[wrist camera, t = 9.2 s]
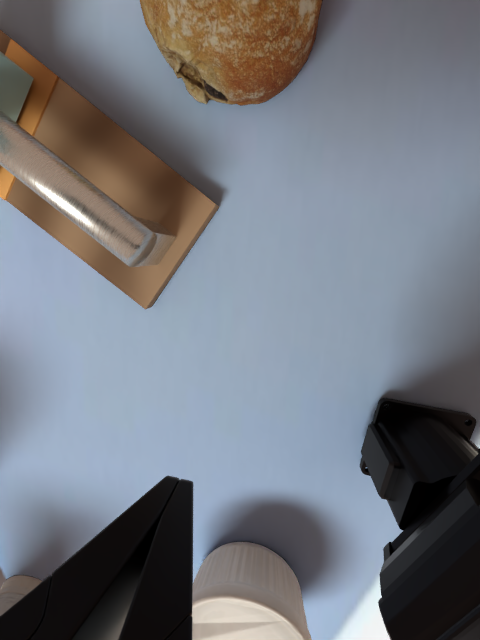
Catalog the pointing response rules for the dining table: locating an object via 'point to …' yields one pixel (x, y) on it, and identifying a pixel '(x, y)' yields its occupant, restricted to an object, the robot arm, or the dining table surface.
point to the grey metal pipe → (81, 199)
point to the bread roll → (234, 44)
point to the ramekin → (247, 596)
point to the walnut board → (103, 180)
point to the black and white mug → (15, 590)
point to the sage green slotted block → (12, 87)
